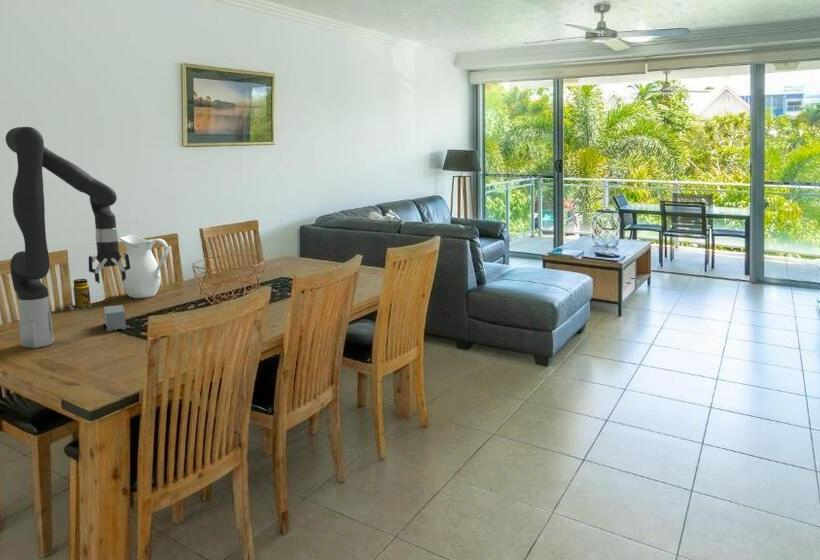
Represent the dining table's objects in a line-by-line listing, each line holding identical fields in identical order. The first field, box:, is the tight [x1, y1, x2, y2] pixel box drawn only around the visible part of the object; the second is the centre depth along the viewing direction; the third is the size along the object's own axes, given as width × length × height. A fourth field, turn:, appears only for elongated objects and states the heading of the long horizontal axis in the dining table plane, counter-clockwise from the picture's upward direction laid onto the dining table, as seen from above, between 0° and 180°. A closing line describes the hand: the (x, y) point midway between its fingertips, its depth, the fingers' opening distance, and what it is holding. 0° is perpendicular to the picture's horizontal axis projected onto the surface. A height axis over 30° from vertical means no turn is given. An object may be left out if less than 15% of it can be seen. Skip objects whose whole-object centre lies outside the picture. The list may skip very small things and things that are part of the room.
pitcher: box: [118, 234, 170, 299], centre depth 287 cm, size 24×17×28 cm
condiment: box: [68, 278, 93, 311], centre depth 269 cm, size 7×8×12 cm
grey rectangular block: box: [103, 304, 127, 332], centre depth 242 cm, size 11×7×7 cm, turn 29°
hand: (111, 281), depth 239 cm, fingers open, 8 cm apart
